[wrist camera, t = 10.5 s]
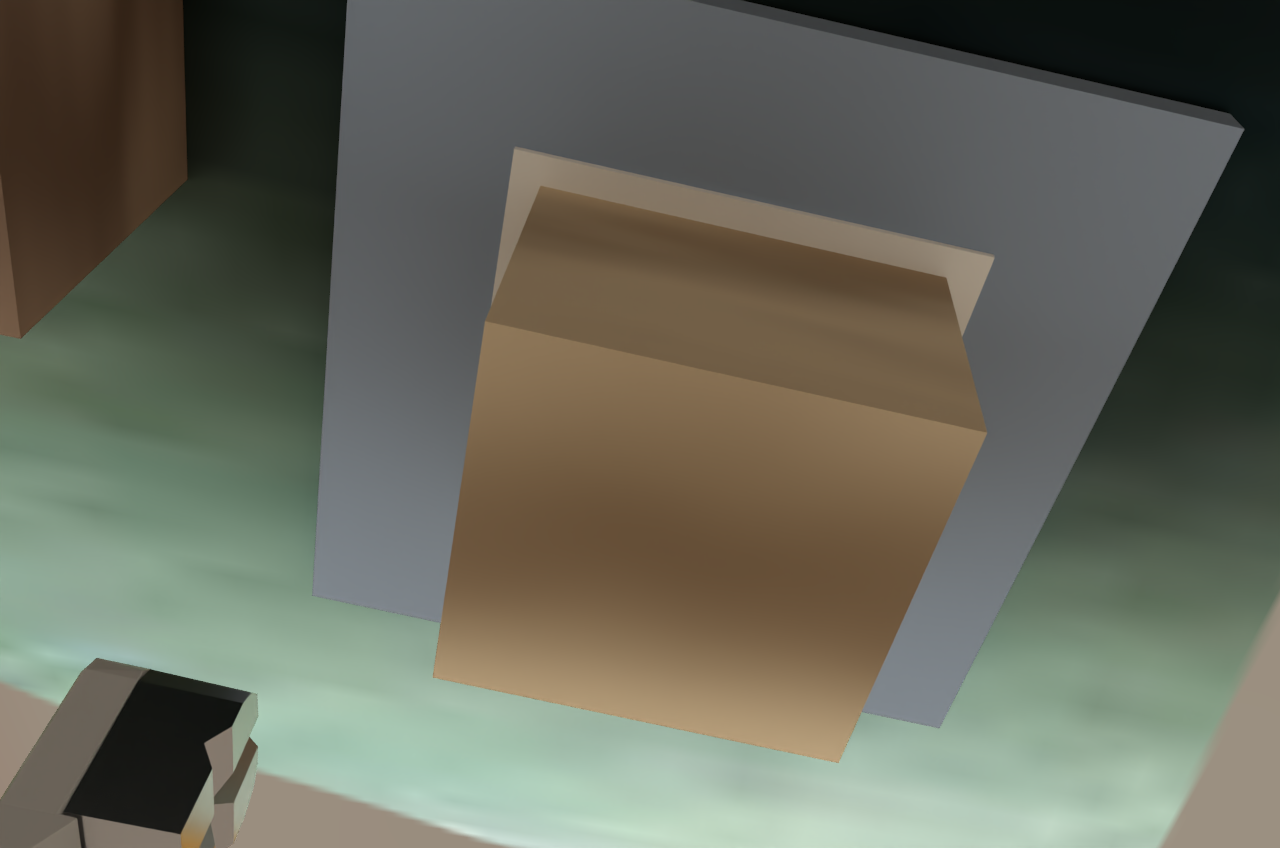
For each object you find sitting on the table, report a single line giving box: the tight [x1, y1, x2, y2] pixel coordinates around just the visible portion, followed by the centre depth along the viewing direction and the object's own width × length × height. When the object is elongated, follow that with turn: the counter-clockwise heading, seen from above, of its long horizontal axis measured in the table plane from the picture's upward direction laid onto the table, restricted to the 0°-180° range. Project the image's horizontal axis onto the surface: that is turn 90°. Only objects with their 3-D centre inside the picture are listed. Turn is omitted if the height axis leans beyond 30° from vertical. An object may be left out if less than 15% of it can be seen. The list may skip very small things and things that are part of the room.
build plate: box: [312, 0, 1244, 728], centre depth 19 cm, size 12×12×1 cm
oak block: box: [433, 186, 987, 763], centre depth 17 cm, size 6×6×4 cm
